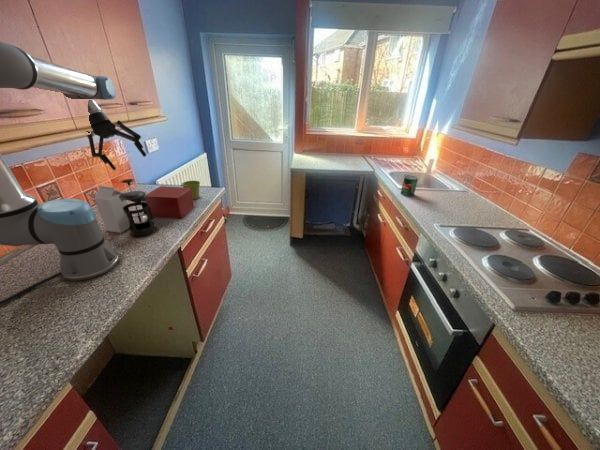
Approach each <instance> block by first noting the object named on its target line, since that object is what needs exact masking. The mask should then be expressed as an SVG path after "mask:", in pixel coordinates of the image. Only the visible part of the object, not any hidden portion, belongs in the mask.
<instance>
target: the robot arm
mask: <svg viewBox="0 0 600 450" xmlns="http://www.w3.org/2000/svg"><path fill="white" fill-rule="evenodd" d="M32 88H33V89H36V88H39V89H44V90H50V91H55V92H61V93H63V94H64V95H65V96H66V97H68V98H71V99H94V100H95V101H94V100H89V101H88V112H89V113H90V115H89V121H90V124H91V127H90V129H91V130H86V131H85V133H86V132H88V133H90V132H91V134H90V135H87V136H86V137H87V139H88V143H89V149H90V152H91V157H92V158H99V159H100V160H101V161H102V163H103V164H105V165H106V164H108V166H109V168H111V170H113V171H116V168H117V167H116V166H115V165H114V164H113V162H112V161H111V160H110V159H109V158H108V157H107V155H106V154H105V153H103V150H104V149H103V148H104V139H106V140H107V139H110V138H113V137H115V136H117V137H121V138H123V139H126V140H128V141H131V142H133V145H134V146H135V148H137V150H138V152H140V154H141V156H142V157H147V153H146V152H145V150H144V149H143V148H144V145H142V143H141V142H140V140H141V139H142V136H141V135H140V134H139V133H137V132H136V131H134V130H132V129H131V128H129V126H126V125H125V124H124V123H123V122H122V121H121V120H117V121H116V122H112V121H111V120H110V118H109V117H108V116H107V115H106V113H105V112H103V109H102V108H101V107H100V106H98V105H99V104H98V103H97V101H96V100H102V101H103V100H104V101H108V100H114V99H115V98H116V95H117V92H116V87H115V84H114V82H113V81H112V80H111V78H110V77H108V76H104V75H103V76H102V75H91V74H88V73H85V72H81V71H78V70H75V69H72V68H69V67H66V66H63V65H60V64H57V63H54V62H51V61H47V60H44V59H41V58H38V57H35V56H33V55H29V54H28V52H26V51H24V50H23V49H22V48H19V47H18V46H15V45H13V44H11V43H10V44H9V43H6V42H4V41H1V40H0V89H16V90H21V91H22V90H23V91H25V90H29V89H32ZM116 127H117V128H118V129H117V128H116ZM119 129H121V130H122V131H121V130H119ZM123 131H124V132H123ZM94 135H96V136H98V137H99V141H98V149H97V152H96V148H95V142H94V137H95V136H94ZM101 229H102V228H101V227H100V224H99V222H98V219H97V215H96V213H95V212H94V210H93V208H92V206H91V204H89V203H88V202H87V201H85V200H82V199H78V198H60V199H51V200H48V201H45V202H42V203H41V204H40V203H39V201H38V200H37V199H36V197H35V196H34V195H32V194H28V193H26V192H24V190H23V188H22V186H21V185H20V184H19V182H18V180H17V179H16V177H15V175H14V174H13V172H12V170H11V168H10V167H9V165H8V164H7V162H6V161H5V159H4V157H3V156H2V154H1V153H0V246H9V247H21V246H34V245H55V247H56V249H57V251H58V253H59V257H60V260H59V261H60V264H59V265H60V272H58V273H56V274H53V275H51V276H49V277H46V278H44V279H42V280H40V281H38V282H35V283H34V284H31V285H30V286H28V287H26V288H24V289H22V290H20V291H19V292H17V293H14V294H12V295H11V296H9V297H6V298H4V299H2V300H0V306H1V305H4V304H6V303H7V302H9V301H12V300H14V299H16V298H17V297H19V296H21V295H23V294H25V293H26V292H29V291H31V290H32V289H35V288H37V287H38V286H41V285H43V284H45V283H47V282H49V281H51V280H53V279H55V278H58V277H60V276H62V277H63V279H64V280H66V281H71V282H79V281H80V282H82V281H86V280H87V281H88V280H91V279H95V278H97V277H100V276H102V275H104V274H106V273H108V272H110V271H111V270H113V269H114V268H115V267H116V266H117V265H118V263H119V262H120V257H119V255H118V254H119V253H118V252H117V251H116V250H115V249H114V248H113V247H112V246H110V245H109V243H108V242H107V241H106V240H105V237H104V234H103V232H102V230H101Z"/></svg>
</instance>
